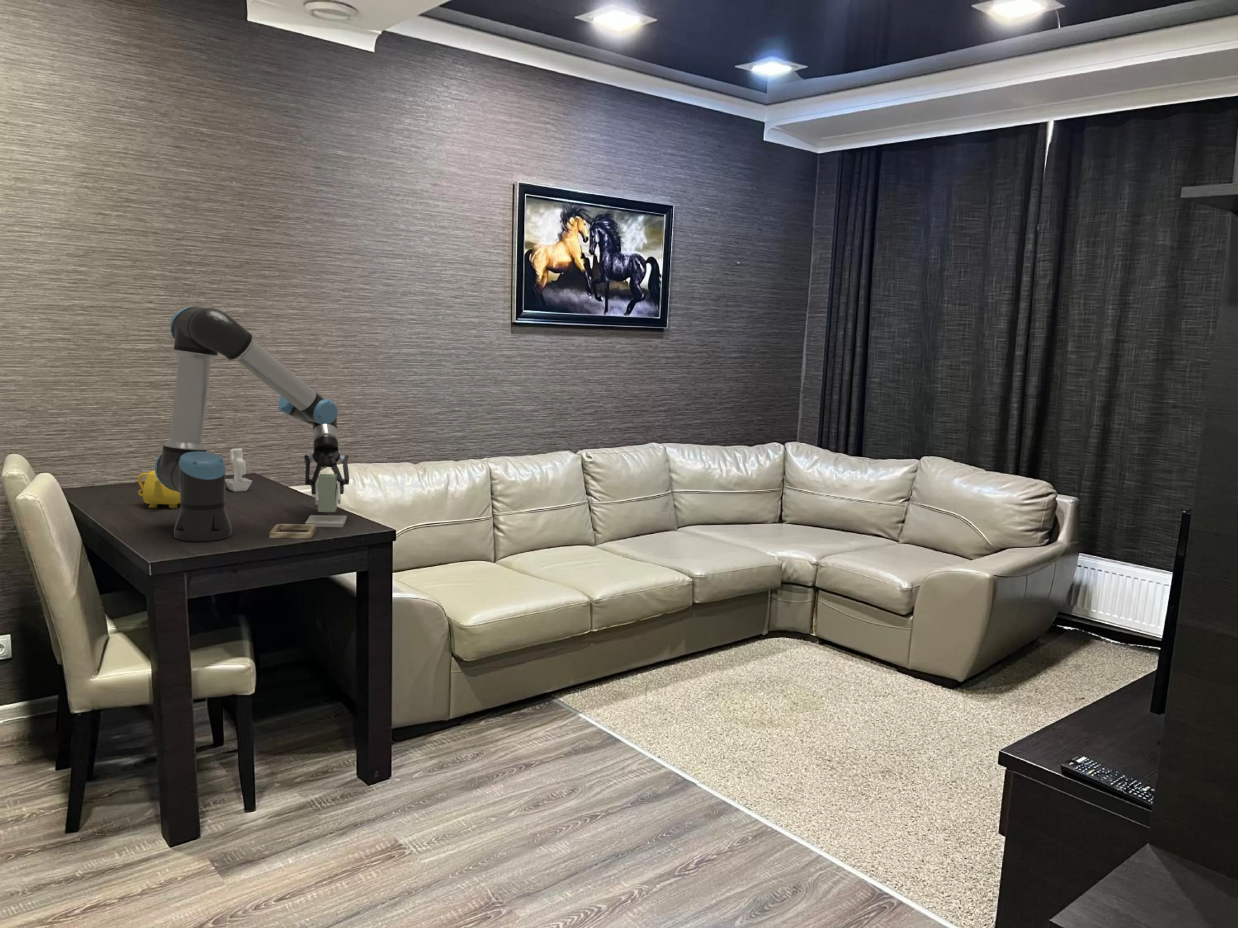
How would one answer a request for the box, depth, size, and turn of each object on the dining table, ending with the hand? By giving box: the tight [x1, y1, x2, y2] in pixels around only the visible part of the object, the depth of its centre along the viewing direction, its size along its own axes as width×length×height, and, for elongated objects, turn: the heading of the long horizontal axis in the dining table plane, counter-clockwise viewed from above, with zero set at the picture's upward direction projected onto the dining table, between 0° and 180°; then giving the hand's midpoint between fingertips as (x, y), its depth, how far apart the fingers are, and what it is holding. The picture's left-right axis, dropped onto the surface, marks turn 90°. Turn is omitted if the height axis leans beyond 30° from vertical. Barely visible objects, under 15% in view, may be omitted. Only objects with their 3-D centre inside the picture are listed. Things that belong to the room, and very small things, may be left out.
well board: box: [268, 523, 317, 539], centre depth 268 cm, size 11×11×2 cm
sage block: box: [317, 473, 338, 513], centre depth 283 cm, size 5×5×11 cm
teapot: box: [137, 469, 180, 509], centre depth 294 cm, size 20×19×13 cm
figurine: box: [225, 447, 253, 493], centre depth 324 cm, size 7×9×15 cm
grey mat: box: [304, 514, 348, 528], centre depth 284 cm, size 11×11×1 cm
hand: (328, 502), depth 280 cm, fingers closed on sage block, 6 cm apart
